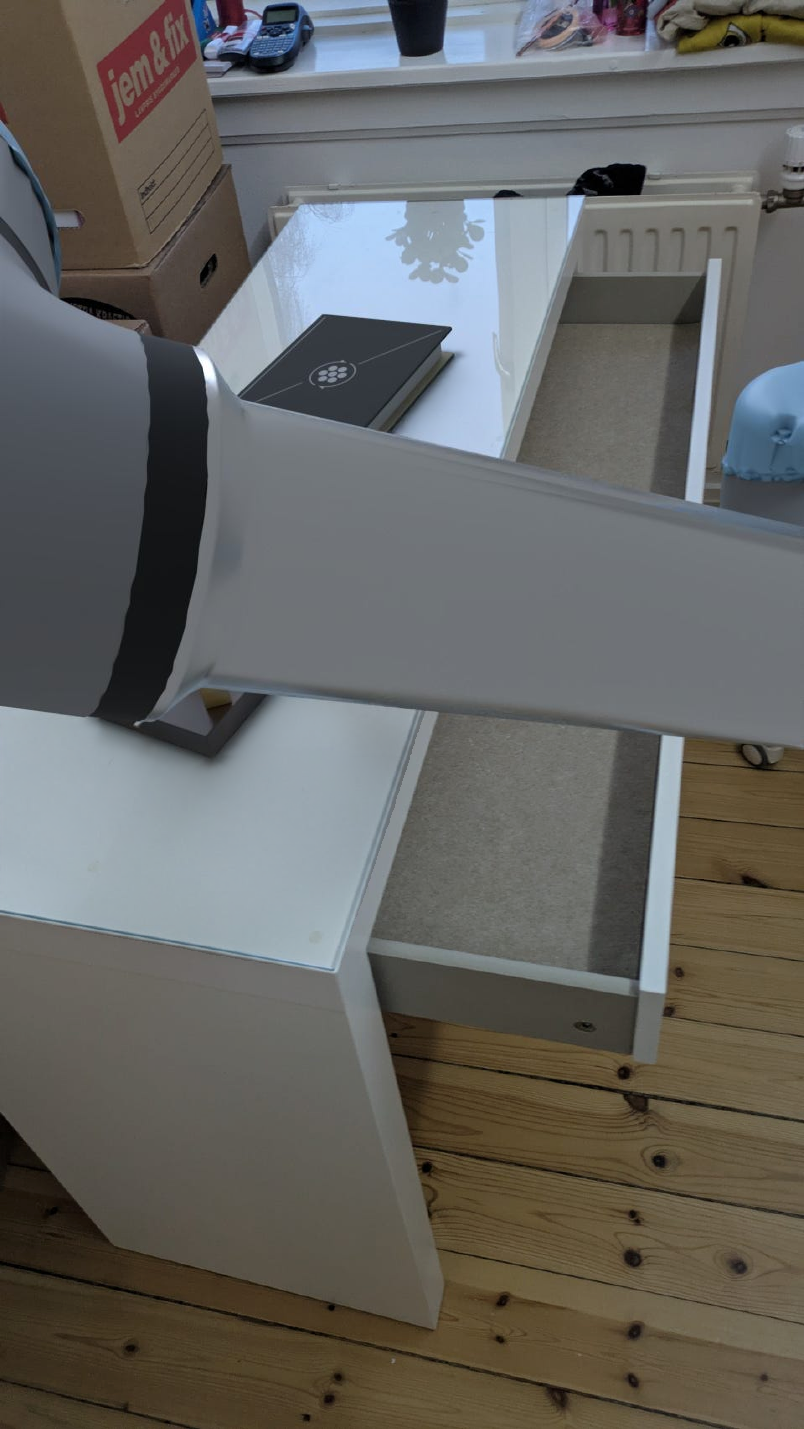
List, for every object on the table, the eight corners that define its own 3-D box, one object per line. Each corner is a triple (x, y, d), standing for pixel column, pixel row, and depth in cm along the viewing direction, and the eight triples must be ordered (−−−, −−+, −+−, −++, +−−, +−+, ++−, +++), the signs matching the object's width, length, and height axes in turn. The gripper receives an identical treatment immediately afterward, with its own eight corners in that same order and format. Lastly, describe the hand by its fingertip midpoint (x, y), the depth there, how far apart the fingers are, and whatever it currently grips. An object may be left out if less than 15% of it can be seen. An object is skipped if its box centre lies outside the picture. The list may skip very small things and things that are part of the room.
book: (325, 340, 114) (320, 313, 112) (455, 355, 109) (452, 326, 107) (215, 448, 101) (208, 419, 99) (357, 471, 95) (352, 440, 93)
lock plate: (203, 769, 72) (195, 746, 70) (88, 727, 76) (78, 705, 74) (330, 620, 81) (326, 597, 80) (222, 590, 85) (216, 568, 84)
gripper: (556, 739, 60) (213, 636, 70) (639, 600, 68) (320, 524, 78) (555, 636, 55) (184, 539, 65) (645, 498, 63) (302, 430, 72)
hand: (258, 531), depth 71 cm, fingers closed
